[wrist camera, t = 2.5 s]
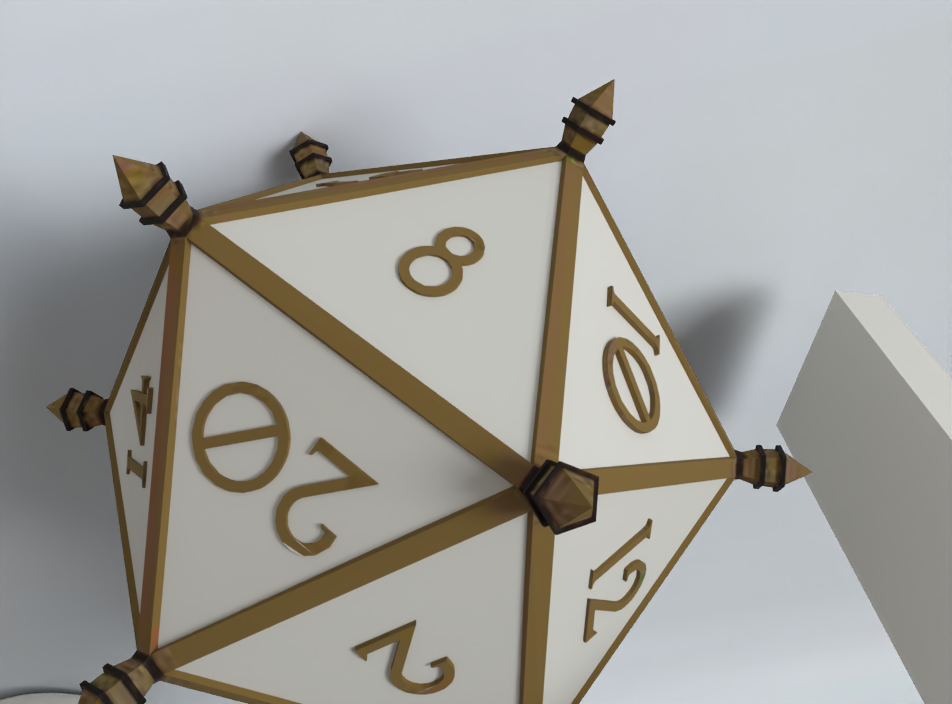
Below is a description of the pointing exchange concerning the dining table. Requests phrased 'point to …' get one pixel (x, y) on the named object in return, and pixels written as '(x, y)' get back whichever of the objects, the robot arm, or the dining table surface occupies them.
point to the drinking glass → (43, 699)
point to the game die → (401, 435)
